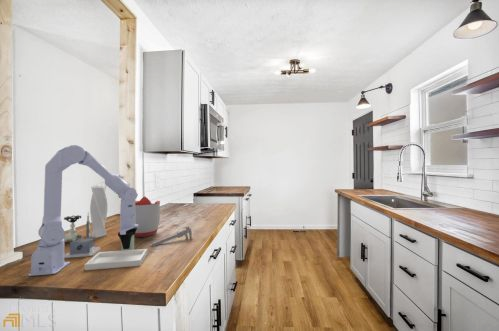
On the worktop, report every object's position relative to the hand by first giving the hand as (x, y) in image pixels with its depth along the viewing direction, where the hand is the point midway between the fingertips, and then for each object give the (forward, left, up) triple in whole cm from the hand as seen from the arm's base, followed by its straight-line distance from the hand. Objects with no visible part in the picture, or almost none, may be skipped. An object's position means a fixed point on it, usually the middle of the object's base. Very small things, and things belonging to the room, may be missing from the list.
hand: (127, 246), depth 102 cm
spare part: (0, 0, -1) cm, 1 cm away
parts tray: (-12, 0, -1) cm, 12 cm away
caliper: (+8, -17, -2) cm, 19 cm away
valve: (+18, +29, -2) cm, 34 cm away
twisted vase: (+26, +21, -2) cm, 33 cm away
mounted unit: (0, +17, -1) cm, 17 cm away
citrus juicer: (+25, -2, -2) cm, 25 cm away
